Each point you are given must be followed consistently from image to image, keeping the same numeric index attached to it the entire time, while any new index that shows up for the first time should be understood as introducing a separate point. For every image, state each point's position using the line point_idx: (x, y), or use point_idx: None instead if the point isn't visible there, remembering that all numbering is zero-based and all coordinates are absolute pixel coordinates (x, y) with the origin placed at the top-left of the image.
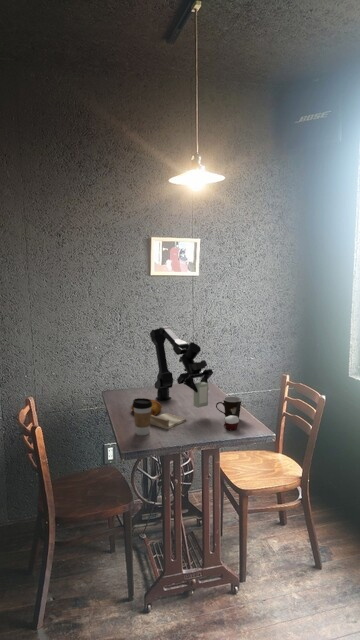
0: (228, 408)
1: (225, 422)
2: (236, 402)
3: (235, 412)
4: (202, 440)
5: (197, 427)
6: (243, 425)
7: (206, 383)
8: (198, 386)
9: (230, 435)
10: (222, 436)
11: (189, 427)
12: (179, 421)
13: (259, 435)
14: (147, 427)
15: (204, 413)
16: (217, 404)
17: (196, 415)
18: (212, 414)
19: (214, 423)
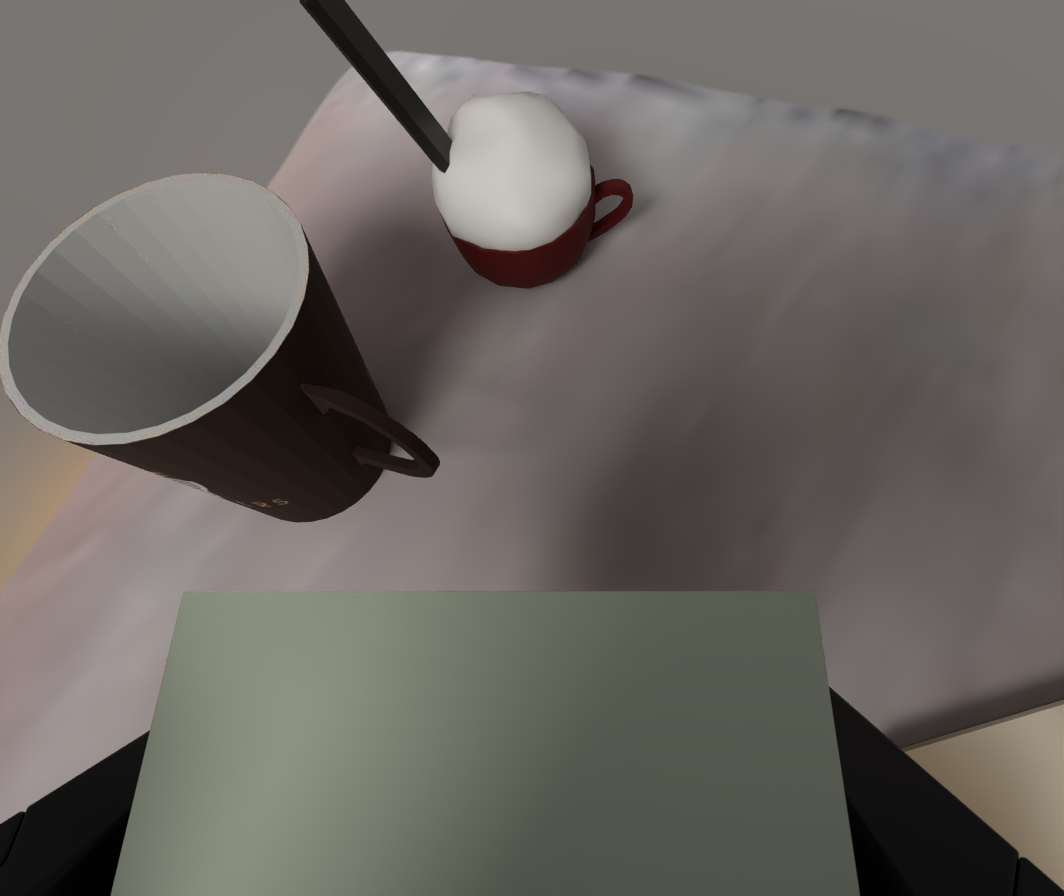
0: (342, 321)
1: (594, 195)
2: (231, 182)
3: (423, 130)
4: (963, 165)
5: (841, 453)
6: (365, 265)
7: (232, 641)
8: (778, 600)
9: (643, 149)
10: (724, 160)
11: (945, 505)
12: (1056, 712)
13: (437, 68)
14: None
15: None
16: (407, 434)
17: None
18: None
19: (574, 450)
